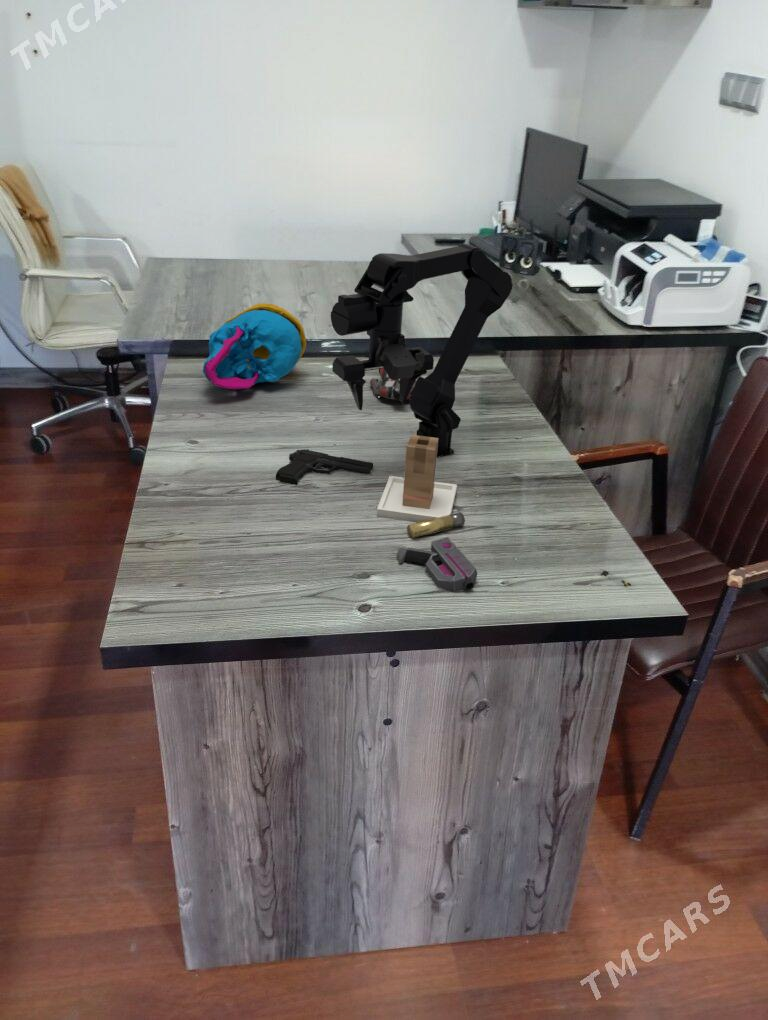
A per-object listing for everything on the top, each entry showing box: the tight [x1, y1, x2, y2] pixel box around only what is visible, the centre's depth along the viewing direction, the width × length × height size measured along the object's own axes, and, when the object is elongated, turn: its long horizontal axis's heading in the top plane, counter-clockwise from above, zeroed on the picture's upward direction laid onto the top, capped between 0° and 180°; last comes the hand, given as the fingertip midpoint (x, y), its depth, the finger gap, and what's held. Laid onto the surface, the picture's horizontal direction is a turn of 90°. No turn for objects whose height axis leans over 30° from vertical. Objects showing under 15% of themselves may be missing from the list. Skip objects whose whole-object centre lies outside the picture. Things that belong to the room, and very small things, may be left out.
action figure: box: [369, 368, 417, 401], centre depth 200 cm, size 10×11×30 cm
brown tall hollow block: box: [402, 434, 439, 509], centre depth 151 cm, size 5×5×12 cm
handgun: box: [275, 448, 374, 486], centre depth 162 cm, size 3×17×12 cm
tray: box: [376, 475, 458, 523], centre depth 154 cm, size 13×13×2 cm
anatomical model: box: [202, 302, 307, 390], centre depth 195 cm, size 18×25×25 cm
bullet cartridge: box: [406, 511, 466, 539], centre depth 146 cm, size 10×2×2 cm, turn 118°
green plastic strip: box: [600, 570, 632, 587], centre depth 136 cm, size 6×1×2 cm
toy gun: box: [396, 536, 478, 593], centre depth 135 cm, size 14×3×10 cm
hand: (381, 405), depth 160 cm, fingers open, 9 cm apart
